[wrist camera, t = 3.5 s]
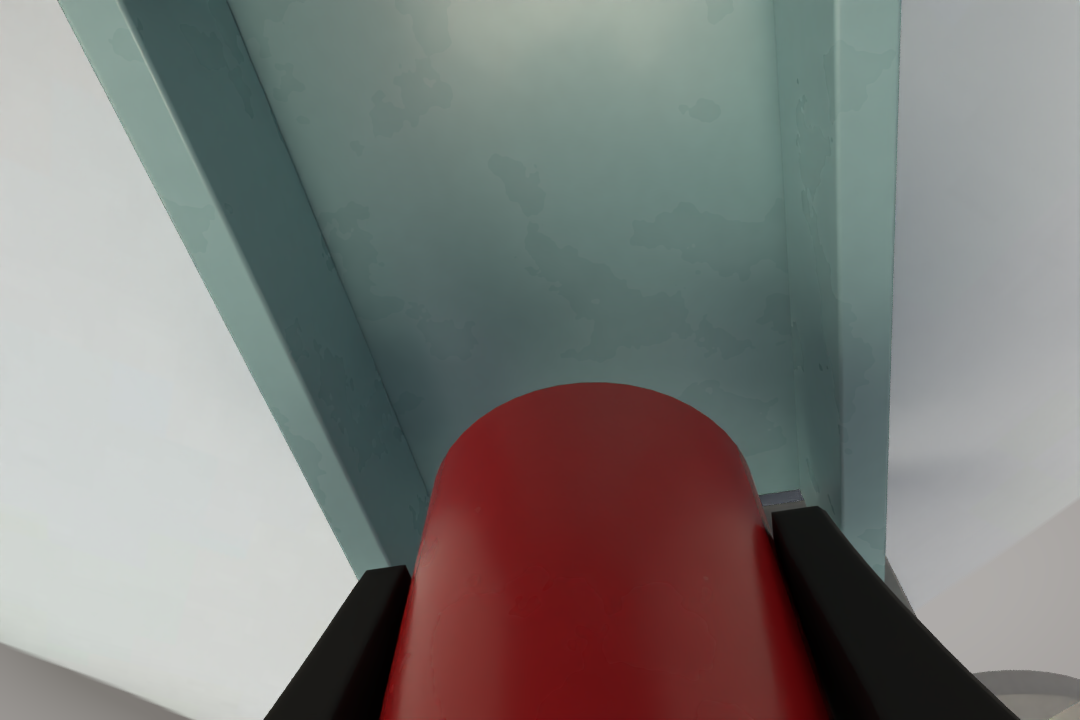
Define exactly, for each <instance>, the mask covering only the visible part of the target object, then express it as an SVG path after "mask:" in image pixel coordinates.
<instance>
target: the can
mask: <svg viewBox="0 0 1080 720" xmlns="http://www.w3.org/2000/svg"><path fill="white" fill-rule="evenodd" d="M379 720H834V717H833V714H832V711H831V708H830V705H829V702H828V699H827V696H826V693H825V691H824V688H823V685H822V682H821V679H820V676H819V673H818V670H817V667H816V664H815V661H814V658H813V655H812V652H811V649H810V646H809V643H808V640H807V637H806V634H805V631H804V628H803V625H802V623H801V620H800V617H799V614H798V611H797V608H796V605H795V603H794V600H793V597H792V594H791V591H790V588H789V585H788V582H787V579H786V576H785V573H784V570H783V567H782V564H781V561H780V558H779V555H778V552H777V549H776V546H775V543H774V540H773V536H772V533H771V530H770V527H769V525H768V522H767V519H766V516H765V513H764V510H763V507H762V504H761V501H760V498H759V495H758V492H757V489H756V486H755V483H754V480H753V477H752V474H751V472H750V469H749V467H748V464H747V461H746V460H745V458H744V456H743V455H742V453H741V451H740V450H739V448H738V446H737V445H736V444H735V443H734V441H733V440H732V439H731V438H730V437H729V436H728V434H727V433H726V432H725V431H724V430H723V429H722V428H721V427H719V426H718V425H717V424H716V423H715V422H714V421H713V420H711V419H710V418H709V417H707V416H706V415H704V414H703V413H701V412H700V411H698V410H697V409H695V408H694V407H692V406H690V405H688V404H686V403H684V402H682V401H680V400H678V399H676V398H674V397H672V396H669V395H666V394H663V393H660V392H657V391H654V390H651V389H647V388H643V387H638V386H633V385H629V384H620V383H610V382H579V383H571V384H562V385H556V386H552V387H548V388H543V389H539V390H535V391H532V392H530V393H527V394H524V395H521V396H518V397H516V398H514V399H512V400H510V401H508V402H506V403H504V404H502V405H499V406H497V407H496V408H494V409H493V410H491V411H490V412H488V413H487V414H485V415H484V416H482V417H481V418H479V419H478V420H477V421H476V422H475V423H473V424H472V425H471V426H470V427H469V428H468V429H467V430H466V431H464V432H463V433H462V434H461V436H460V437H459V438H458V439H457V440H456V442H455V443H454V444H453V445H452V446H451V448H450V449H449V451H448V453H447V454H446V456H445V457H444V459H443V461H442V462H441V465H440V467H439V470H438V472H437V475H436V477H435V481H434V486H433V490H432V494H431V498H430V503H429V507H428V511H427V516H426V520H425V524H424V529H423V533H422V537H421V541H420V546H419V550H418V554H417V559H416V563H415V567H414V571H413V576H412V580H411V584H410V589H409V593H408V597H407V602H406V606H405V610H404V614H403V619H402V623H401V627H400V632H399V636H398V640H397V644H396V649H395V653H394V657H393V662H392V666H391V670H390V674H389V679H388V683H387V687H386V692H385V696H384V700H383V705H382V709H381V713H380V717H379Z"/></svg>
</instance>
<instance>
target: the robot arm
mask: <svg viewBox="0 0 1080 720" xmlns="http://www.w3.org/2000/svg"><path fill="white" fill-rule="evenodd" d="M771 516H772V528H773V540H774V543H775V546H776V549H777V552H778V555H779V558H780V561H781V564H782V567H783V570H784V573H785V576H786V579H787V582H788V585H789V588H790V591H791V594H792V597H793V600H794V603H795V605H796V608H797V611H798V614H799V617H800V620H801V623H802V625H803V628H804V631H805V634H806V637H807V640H808V643H809V646H810V649H811V652H812V655H813V658H814V661H815V664H816V667H817V670H818V673H819V676H820V679H821V682H822V685H823V688H824V691H825V693H826V696H827V699H828V702H829V705H830V708H831V711H832V714H833V717H834V720H1020V719H1019V718H1018V717H1017V716H1016V715H1015V714H1014V713H1013V712H1012V711H1011V710H1010V709H1008V708H1007V707H1006V706H1005V705H1004V704H1003V703H1002V702H1001V701H1000V700H999V699H998V698H997V697H996V696H995V695H994V694H993V693H992V692H990V691H989V690H988V689H987V688H986V687H985V686H984V685H983V684H982V683H981V682H980V681H979V680H978V679H977V678H976V677H975V676H974V675H973V674H972V673H970V672H969V671H968V670H967V669H966V668H965V667H964V666H963V665H962V664H961V663H960V662H959V661H958V660H957V659H956V658H955V657H954V656H953V655H952V654H951V653H950V652H949V651H948V650H947V649H946V648H945V647H944V646H943V645H942V644H941V643H940V642H939V640H938V639H937V638H936V637H935V636H934V635H933V634H932V633H931V632H930V631H929V630H928V629H927V628H926V627H925V626H924V625H923V624H922V623H921V622H920V621H919V620H918V619H917V617H916V616H915V615H914V614H913V613H912V612H911V611H910V610H909V609H908V608H907V607H906V606H905V605H904V604H903V603H902V602H901V601H900V599H899V598H898V597H897V596H896V595H895V594H894V593H893V592H892V591H891V590H890V588H889V587H888V586H887V585H886V584H885V583H884V582H883V581H882V579H881V578H880V577H879V576H878V575H877V574H876V572H875V571H874V570H873V569H872V568H871V567H870V566H869V564H868V563H867V562H866V561H865V560H864V559H863V557H862V556H861V555H860V554H859V553H858V551H857V550H856V549H855V548H854V547H853V545H852V544H851V543H850V542H849V540H848V539H847V538H846V537H845V535H844V534H843V533H842V532H841V530H840V529H839V528H838V526H837V525H836V524H835V523H834V521H833V520H832V519H831V517H830V516H829V514H828V513H827V512H826V511H825V510H824V509H822V508H820V507H819V506H811V507H804V508H797V509H790V510H783V511H776V512H771ZM411 580H412V578H411V576H410V574H409V571H408V569H407V567H406V565H399V566H392V567H385V568H378V569H371V570H366V571H365V573H364V574H363V576H362V577H361V579H360V580H359V581H358V583H357V584H356V586H355V587H354V589H353V590H352V591H351V593H350V594H349V596H348V597H347V599H346V600H345V602H344V603H343V605H342V606H341V608H340V609H339V611H338V612H337V614H336V615H335V617H334V618H333V620H332V621H331V623H330V624H329V626H328V627H327V629H326V630H325V632H324V633H323V635H322V636H321V638H320V639H319V641H318V642H317V644H316V645H315V647H314V648H313V650H312V651H311V653H310V654H309V656H308V657H307V658H306V660H305V661H304V663H303V664H302V666H301V667H300V669H299V670H298V671H297V673H296V674H295V676H294V677H293V679H292V680H291V681H290V683H289V684H288V686H287V687H286V689H285V690H284V691H283V693H282V694H281V696H280V697H279V699H278V700H277V701H276V703H275V704H274V706H273V707H272V709H271V710H270V711H269V713H268V714H267V715H266V717H265V718H264V720H379V717H380V713H381V709H382V705H383V700H384V696H385V692H386V687H387V683H388V679H389V674H390V670H391V666H392V662H393V657H394V653H395V649H396V644H397V640H398V636H399V632H400V627H401V623H402V619H403V614H404V610H405V606H406V602H407V597H408V593H409V589H410V584H411Z"/></svg>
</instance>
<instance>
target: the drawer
mask: <svg viewBox="0 0 1080 720" xmlns="http://www.w3.org/2000/svg"><path fill="white" fill-rule="evenodd" d="M58 2H59V4H60V6H61V8H62V10H63V12H64V14H65V16H66V18H67V20H68V22H69V24H70V25H71V27H72V29H73V31H74V33H75V35H76V37H77V39H78V41H79V43H80V45H81V47H82V49H83V51H84V52H85V54H86V56H87V58H88V60H89V62H90V64H91V66H92V68H93V70H94V72H95V74H96V76H97V78H98V79H99V81H100V83H101V85H102V87H103V89H104V91H105V93H106V95H107V97H108V99H109V101H110V103H111V104H112V106H113V108H114V110H115V112H116V114H117V116H118V118H119V120H120V122H121V124H122V126H123V128H124V130H125V131H126V133H127V135H128V137H129V139H130V141H131V143H132V145H133V147H134V149H135V151H136V153H137V155H138V157H139V158H140V160H141V162H142V164H143V166H144V168H145V170H146V172H147V174H148V176H149V178H150V180H151V182H152V184H153V185H154V187H155V189H156V191H157V193H158V195H159V197H160V199H161V201H162V203H163V205H164V207H165V209H166V211H167V212H168V214H169V216H170V218H171V220H172V222H173V224H174V226H175V228H176V230H177V232H178V234H179V236H180V238H181V239H182V241H183V243H184V245H185V247H186V249H187V251H188V253H189V255H190V257H191V259H192V261H193V263H194V264H195V266H196V268H197V270H198V272H199V274H200V276H201V278H202V280H203V282H204V284H205V286H206V288H207V290H208V291H209V293H210V295H211V297H212V299H213V301H214V303H215V305H216V307H217V309H218V311H219V313H220V315H221V317H222V318H223V320H224V322H225V324H226V326H227V328H228V330H229V332H230V334H231V336H232V338H233V340H234V342H235V344H236V345H237V347H238V349H239V351H240V353H241V355H242V357H243V359H244V361H245V363H246V365H247V367H248V369H249V371H250V372H251V374H252V376H253V378H254V380H255V382H256V384H257V386H258V388H259V390H260V392H261V394H262V396H263V398H264V399H265V401H266V403H267V405H268V407H269V409H270V411H271V413H272V415H273V417H274V419H275V421H276V423H277V424H278V426H279V428H280V430H281V432H282V434H283V436H284V438H285V440H286V442H287V444H288V446H289V448H290V450H291V451H292V453H293V455H294V457H295V459H296V461H297V463H298V465H299V467H300V469H301V471H302V473H303V475H304V477H305V478H306V480H307V482H308V484H309V486H310V488H311V490H312V492H313V494H314V496H315V498H316V500H317V502H318V504H319V505H320V507H321V509H322V511H323V513H324V515H325V517H326V519H327V521H328V523H329V525H330V527H331V529H332V531H333V532H334V534H335V536H336V538H337V540H338V542H339V544H340V546H341V548H342V550H343V552H344V554H345V556H346V558H347V559H348V561H349V563H350V565H351V567H352V569H353V571H354V573H355V575H356V577H357V579H358V581H359V580H360V579H361V577H362V576H363V574H364V573H365V571H366V570H371V569H378V568H385V567H392V566H399V565H406V567H407V569H408V571H409V574H410V576H411V578H412V576H413V571H414V567H415V563H416V559H417V554H418V550H419V546H420V541H421V537H422V533H423V529H424V524H425V520H426V516H427V511H428V507H429V503H430V498H431V494H432V490H433V486H434V481H435V477H436V475H437V472H438V470H439V467H440V465H441V462H442V461H443V459H444V457H445V456H446V454H447V453H448V451H449V449H450V448H451V446H452V445H453V444H454V443H455V442H456V440H457V439H458V438H459V437H460V436H461V434H462V433H463V432H464V431H466V430H467V429H468V428H469V427H470V426H471V425H472V424H473V423H475V422H476V421H477V420H478V419H479V418H481V417H482V416H484V415H485V414H487V413H488V412H490V411H491V410H493V409H494V408H496V407H497V406H499V405H502V404H504V403H506V402H508V401H510V400H512V399H514V398H516V397H518V396H521V395H524V394H527V393H530V392H532V391H535V390H539V389H543V388H548V387H552V386H556V385H562V384H571V383H579V382H610V383H620V384H629V385H633V386H638V387H643V388H647V389H651V390H654V391H657V392H660V393H663V394H666V395H669V396H672V397H674V398H676V399H678V400H680V401H682V402H684V403H686V404H688V405H690V406H692V407H694V408H695V409H697V410H698V411H700V412H701V413H703V414H704V415H706V416H707V417H709V418H710V419H711V420H713V421H714V422H715V423H716V424H717V425H718V426H719V427H721V428H722V429H723V430H724V431H725V432H726V433H727V434H728V436H729V437H730V438H731V439H732V440H733V441H734V443H735V444H736V445H737V446H738V448H739V450H740V451H741V453H742V455H743V456H744V458H745V460H746V461H747V464H748V467H749V469H750V472H751V474H752V477H753V480H754V483H755V486H756V489H757V492H758V495H764V494H771V493H778V492H784V491H791V490H798V489H800V492H801V494H802V496H803V499H804V500H802V501H795V502H788V503H781V504H774V505H767V506H762V507H763V510H764V513H765V516H766V519H767V522H768V525H769V527H770V530H771V533H772V536H773V528H772V516H771V512H776V511H783V510H790V509H797V508H804V507H811V506H819V507H820V508H822V509H824V510H825V511H826V512H827V513H828V514H829V516H830V517H831V519H832V520H833V521H834V523H835V524H836V525H837V526H838V528H839V529H840V530H841V532H842V533H843V534H844V535H845V537H846V538H847V539H848V540H849V542H850V543H851V544H852V545H853V547H854V548H855V549H856V550H857V551H858V553H859V554H860V555H861V556H862V557H863V559H864V560H865V561H866V562H867V563H868V564H869V566H870V567H871V568H872V569H873V570H874V571H875V572H876V574H877V575H878V576H879V577H880V578H881V579H882V581H883V582H884V583H885V584H886V585H887V586H888V587H889V588H890V590H891V591H892V592H893V593H894V594H895V595H896V596H897V597H898V598H899V599H900V601H901V602H902V603H903V604H904V605H905V606H906V607H907V608H908V609H909V610H910V611H911V612H912V613H913V614H914V615H915V613H914V611H913V609H912V607H911V605H910V603H909V601H908V599H907V597H906V595H905V593H904V591H903V589H902V587H901V585H900V583H899V581H898V579H897V577H896V575H895V573H894V571H893V569H892V567H891V565H890V563H889V561H888V559H887V557H886V555H885V549H886V514H887V480H888V445H889V411H890V376H891V342H892V307H893V273H894V238H895V204H896V169H897V135H898V100H899V66H900V31H901V0H58ZM915 616H916V615H915Z"/></svg>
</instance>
